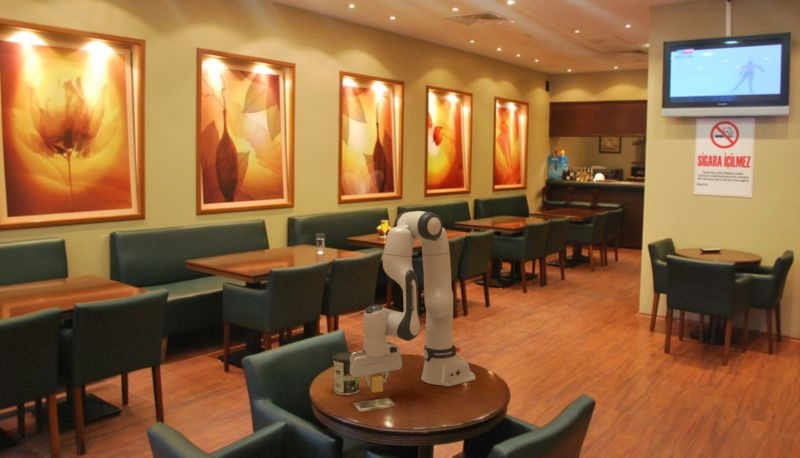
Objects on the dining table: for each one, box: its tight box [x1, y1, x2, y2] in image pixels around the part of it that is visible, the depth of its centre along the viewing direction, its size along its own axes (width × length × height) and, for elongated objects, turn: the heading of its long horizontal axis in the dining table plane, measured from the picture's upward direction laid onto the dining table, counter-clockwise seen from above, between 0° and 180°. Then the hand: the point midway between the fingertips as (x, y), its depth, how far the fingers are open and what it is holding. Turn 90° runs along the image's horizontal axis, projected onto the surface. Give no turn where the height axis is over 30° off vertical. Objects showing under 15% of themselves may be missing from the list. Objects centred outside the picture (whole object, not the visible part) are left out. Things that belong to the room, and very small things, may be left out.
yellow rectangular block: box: [369, 373, 384, 393], centre depth 247 cm, size 4×4×6 cm
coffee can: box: [332, 351, 360, 396], centre depth 256 cm, size 10×10×14 cm
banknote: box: [352, 397, 396, 413], centre depth 242 cm, size 14×7×1 cm, turn 112°
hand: (376, 384), depth 247 cm, fingers closed on yellow rectangular block, 4 cm apart
